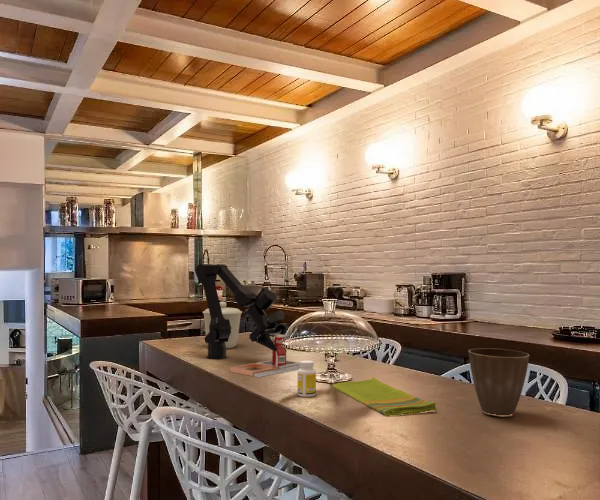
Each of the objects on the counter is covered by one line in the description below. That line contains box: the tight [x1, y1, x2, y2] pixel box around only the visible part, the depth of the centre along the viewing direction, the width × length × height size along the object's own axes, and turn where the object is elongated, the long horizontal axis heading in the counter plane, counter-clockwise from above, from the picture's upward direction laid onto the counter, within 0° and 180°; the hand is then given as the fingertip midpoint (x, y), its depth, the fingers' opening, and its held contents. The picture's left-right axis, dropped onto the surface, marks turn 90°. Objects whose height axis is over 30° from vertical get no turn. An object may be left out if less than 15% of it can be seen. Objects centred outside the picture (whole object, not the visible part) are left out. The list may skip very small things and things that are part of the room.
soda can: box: [271, 334, 287, 366], centre depth 207 cm, size 5×5×12 cm
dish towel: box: [332, 376, 437, 417], centre depth 159 cm, size 15×36×3 cm, turn 19°
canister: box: [202, 301, 243, 350], centre depth 254 cm, size 18×18×21 cm
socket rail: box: [229, 359, 301, 378], centre depth 201 cm, size 25×14×2 cm, turn 138°
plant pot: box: [468, 347, 530, 415], centre depth 144 cm, size 15×15×16 cm
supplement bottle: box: [297, 360, 317, 398], centre depth 162 cm, size 5×5×10 cm
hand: (282, 349), depth 206 cm, fingers open, 7 cm apart
